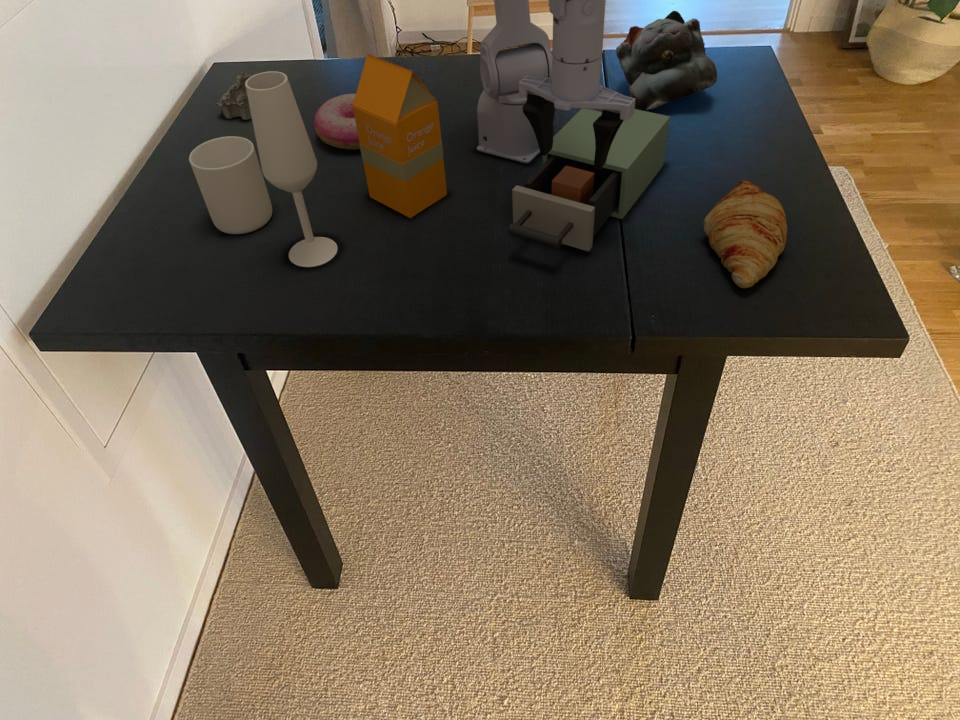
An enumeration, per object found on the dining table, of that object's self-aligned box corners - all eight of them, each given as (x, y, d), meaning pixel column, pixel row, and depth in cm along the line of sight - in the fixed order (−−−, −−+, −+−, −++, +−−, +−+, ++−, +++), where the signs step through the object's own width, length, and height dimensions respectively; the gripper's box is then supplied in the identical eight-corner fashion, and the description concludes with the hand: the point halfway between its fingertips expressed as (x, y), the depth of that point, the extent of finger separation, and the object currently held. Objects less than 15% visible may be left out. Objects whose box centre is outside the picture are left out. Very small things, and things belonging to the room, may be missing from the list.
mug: (287, 189, 111) (269, 123, 103) (263, 236, 102) (241, 169, 95) (233, 188, 112) (210, 123, 104) (205, 236, 103) (178, 169, 96)
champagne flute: (344, 239, 101) (305, 68, 84) (327, 269, 96) (281, 96, 79) (299, 234, 102) (251, 66, 85) (280, 264, 98) (225, 93, 81)
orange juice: (409, 218, 103) (389, 82, 89) (368, 197, 108) (343, 63, 94) (448, 194, 107) (434, 59, 93) (407, 174, 112) (388, 42, 97)
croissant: (761, 319, 90) (809, 278, 84) (693, 283, 88) (737, 239, 82) (755, 217, 104) (796, 176, 98) (696, 184, 102) (734, 140, 96)
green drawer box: (622, 219, 100) (627, 168, 95) (542, 197, 105) (542, 147, 100) (663, 165, 109) (670, 116, 104) (587, 147, 114) (590, 99, 109)
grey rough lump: (249, 91, 135) (242, 69, 132) (284, 95, 133) (278, 73, 130) (216, 118, 128) (208, 95, 125) (253, 123, 126) (246, 100, 123)
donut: (377, 161, 115) (372, 131, 111) (302, 151, 118) (295, 122, 115) (410, 120, 124) (406, 91, 120) (339, 111, 127) (333, 84, 124)
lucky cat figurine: (627, 117, 120) (608, 28, 115) (629, 112, 131) (613, 30, 126) (722, 91, 115) (706, -3, 111) (716, 88, 126) (702, 2, 122)
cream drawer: (571, 273, 92) (573, 232, 87) (494, 248, 96) (492, 209, 92) (632, 195, 103) (636, 156, 98) (560, 176, 107) (561, 138, 103)
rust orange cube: (564, 197, 102) (565, 165, 98) (592, 204, 100) (594, 172, 96) (551, 212, 99) (551, 180, 96) (579, 220, 98) (580, 188, 94)
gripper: (505, 56, 85) (508, 160, 95) (621, 79, 79) (612, 187, 89) (533, 33, 89) (534, 135, 99) (646, 53, 83) (635, 159, 93)
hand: (572, 158), depth 94 cm, fingers open, 7 cm apart
